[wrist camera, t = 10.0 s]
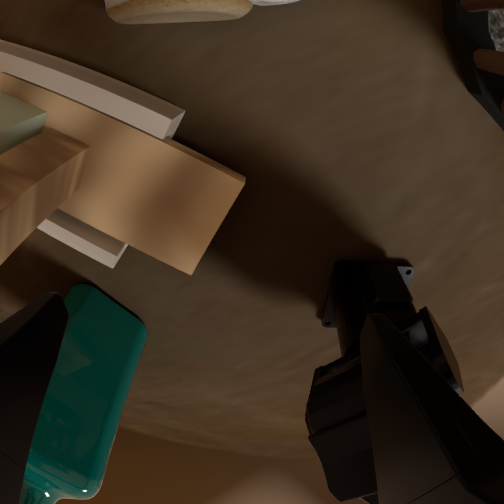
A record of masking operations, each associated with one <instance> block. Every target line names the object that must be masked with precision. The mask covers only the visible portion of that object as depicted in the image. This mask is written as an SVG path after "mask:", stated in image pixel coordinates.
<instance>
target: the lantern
mask: <svg viewBox="0 0 504 504" xmlns="http://www.w3.org/2000/svg"><path fill="white" fill-rule="evenodd" d="M442 4H443V31H444V33H445V35H446V37H447V39H448V41H449V44H450V46H451V48H452V50H453V53H454V55H455V57H456V60H457V62H458V65H459V67H460V70H461V72H462V75H463V78H464V80H465V83H466V86H467V88H468V91H469V93H470V94H471V95H472V96H473V97H474V98H475V99H476V100H477V101H478V102H479V103H480V104H481V105H482V106H483V107H484V109H485V110H486V111H487V112H488V113H489V114H490V115H491V116H492V118H493V119H494V120H495V121H496V122H497V123H498V125H499V126H500V127H501V128H502V129H503V131H504V0H442Z"/></svg>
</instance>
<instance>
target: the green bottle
mask: <svg viewBox="0 0 504 504" xmlns="http://www.w3.org/2000/svg"><path fill="white" fill-rule="evenodd" d="M63 301H64V303H65V306H66V308H67V310H68V314H69V319H68V323H67V326H66V330H65V333H64V337H63V340H62V344H61V348H60V352H59V355H58V359H57V362H56V365H55V368H54V371H53V374H52V377H51V380H50V383H49V386H48V389H47V392H46V395H45V398H44V401H43V404H42V408H41V411H40V414H39V418H38V421H37V425H36V429H35V432H34V436H33V440H32V444H31V448H30V452H29V456H28V461H27V465H26V468H25V469H26V470H25V475H24V480H23V485H22V491H21V497H20V503H19V504H55V503H56V501H58V500H59V499H62V498H69V499H89V498H92V497H94V496H95V495H96V494H97V492H98V491H99V489H100V487H101V485H102V480H103V477H104V473H105V470H106V466H107V462H108V458H109V455H110V452H111V448H112V444H113V441H114V438H115V434H116V431H117V428H118V425H119V421H120V418H121V415H122V412H123V408H124V405H125V402H126V399H127V396H128V393H129V390H130V387H131V384H132V381H133V378H134V375H135V372H136V369H137V366H138V363H139V360H140V357H141V354H142V351H143V348H144V346H145V343H146V340H147V336H148V333H147V330H146V327H145V325H144V324H143V323H142V322H141V321H140V320H139V319H138V318H137V317H135V316H134V315H132V314H131V313H130V312H128V311H127V310H125V309H124V308H123V307H121V306H120V305H118V304H117V303H116V302H114V301H113V300H112V299H110V298H109V297H108V296H106V295H105V294H104V293H102V292H101V291H100V290H98V289H97V288H96V287H93V286H91V285H89V284H78V285H75V286H73V287H72V288H71V290H70V291H69V293H68V294H67V296H66V297H65V299H64V300H63Z"/></svg>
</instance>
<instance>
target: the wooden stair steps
mask: <svg viewBox="0 0 504 504" xmlns="http://www.w3.org/2000/svg"><path fill="white" fill-rule="evenodd" d="M0 92H3V93H5V94H8V95H10V96H12V97H15V98H17V99H19V100H22V101H24V102H26V103H29V104H31V105H33V106H36V107H38V108H40V109H42V110H45V111H47V115H46V118H45V122H44V126H43V131H42V133H40V134H38V135H36V136H34V137H32V138H30V139H28V140H26V141H25V142H23V143H21V144H19V145H17V146H15V147H13V148H11V149H10V150H8V151H6V152H4V153H3V154H1V155H0V265H1V264H2V263H3V262H4V261H5V260H6V259H7V258H8V257H9V255H10V254H11V253H12V252H13V251H14V250H15V249H16V248H17V247H18V246H19V245H20V244H21V243H22V242H23V241H24V240H25V239H26V238H27V237H28V236H29V235H30V234H31V233H32V232H33V231H34V230H35V229H36V228H37V227H38V226H39V225H40V224H41V223H42V222H43V221H44V220H45V219H46V218H47V217H48V216H49V215H50V214H51V213H52V212H53V211H55V210H56V209H57V208H59V209H60V210H62V211H64V212H66V213H68V214H70V215H72V216H73V217H75V218H77V219H79V220H81V221H83V222H85V223H87V224H89V225H91V226H93V227H94V228H96V229H98V230H100V231H102V232H104V233H106V234H108V235H110V236H112V237H114V238H116V239H118V240H120V241H122V242H124V243H126V244H128V245H130V246H132V247H134V248H136V249H138V250H140V251H142V252H144V253H146V254H148V255H150V256H152V257H154V258H156V259H158V260H160V261H162V262H164V263H166V264H169V265H171V266H173V267H175V268H177V269H179V270H181V271H183V272H185V273H187V274H189V275H192V273H193V271H194V270H195V268H196V266H197V264H198V263H199V261H200V259H201V257H202V256H203V254H204V252H205V250H206V249H207V247H208V245H209V244H210V242H211V240H212V238H213V237H214V235H215V233H216V232H217V230H218V228H219V226H220V225H221V223H222V221H223V220H224V218H225V216H226V215H227V213H228V211H229V210H230V208H231V206H232V205H233V203H234V201H235V200H236V198H237V196H238V195H239V193H240V191H241V190H242V188H243V186H244V185H245V181H246V177H244V176H242V175H240V174H239V173H237V172H235V171H233V170H231V169H229V168H227V167H225V166H223V165H221V164H219V163H218V162H216V161H214V160H212V159H210V158H208V157H206V156H204V155H202V154H200V153H198V152H196V151H194V150H192V149H190V148H188V147H186V146H184V145H182V144H180V143H178V142H176V141H174V140H172V139H170V138H167V137H165V138H164V139H163V140H162V139H160V138H158V137H156V136H154V135H152V134H150V133H147V132H145V131H143V130H141V129H139V128H137V127H135V126H133V125H130V124H128V123H126V122H124V121H122V120H119V119H117V118H115V117H113V116H111V115H108V114H106V113H104V112H102V111H99V110H97V109H95V108H93V107H90V106H88V105H86V104H83V103H81V102H79V101H76V100H74V99H72V98H69V97H67V96H64V95H62V94H60V93H57V92H55V91H52V90H50V89H47V88H45V87H42V86H40V85H37V84H35V83H32V82H30V81H27V80H25V79H22V78H19V77H17V76H14V75H11V74H9V73H6V72H3V73H2V74H1V78H0Z"/></svg>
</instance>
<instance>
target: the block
mask: <svg viewBox="0 0 504 504" xmlns="http://www.w3.org/2000/svg"><path fill="white" fill-rule="evenodd" d="M46 115H47V111H45V110H42V109H40V108H38V107H36V106H33V105H31V104H29V103H26V102H24V101H22V100H19V99H17V98H15V97H12V96H10V95H8V94H5V93H3V92H0V155H1V154H3V153H4V152H6V151H8V150H10V149H11V148H13V147H15V146H17V145H19V144H21V143H23V142H25V141H26V140H28V139H30V138H32V137H34V136H36V135H38V134H40V133H42V131H43V126H44V122H45V118H46Z"/></svg>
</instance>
